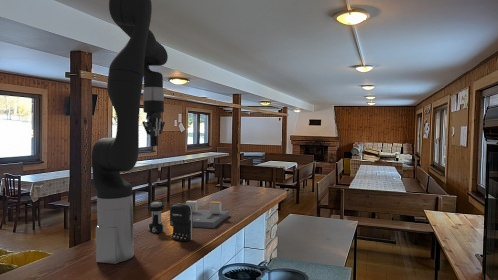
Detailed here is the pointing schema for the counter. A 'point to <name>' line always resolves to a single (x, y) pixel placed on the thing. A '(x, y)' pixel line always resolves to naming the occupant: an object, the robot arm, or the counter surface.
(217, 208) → the handle
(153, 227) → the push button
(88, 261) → the counter surface
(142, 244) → the counter surface
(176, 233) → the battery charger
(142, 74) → the robot arm
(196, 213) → the breaker board
